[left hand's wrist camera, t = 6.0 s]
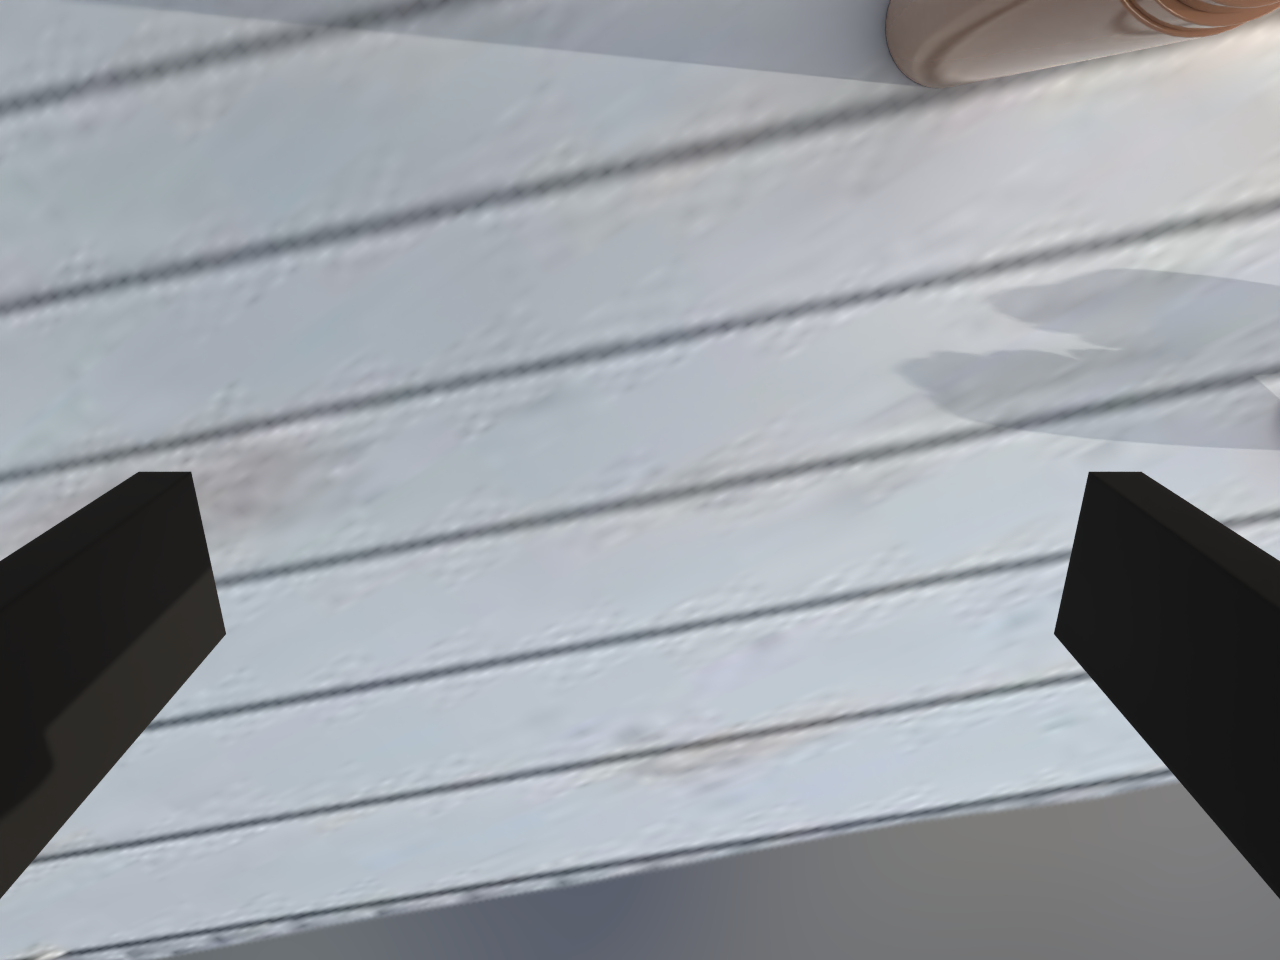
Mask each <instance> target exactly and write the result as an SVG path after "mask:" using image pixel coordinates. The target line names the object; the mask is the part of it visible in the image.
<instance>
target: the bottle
mask: <svg viewBox="0 0 1280 960" xmlns="http://www.w3.org/2000/svg"><path fill="white" fill-rule="evenodd" d="M1279 7H1280V0H891V1H890V4H889V7H888V12H887V18H886V38H887V43H888V47H889V50H890V54H891V56H892V58H893V60H894V62H895V63H896V65H897V66H898V68H899V69H900V70H901V71H902V72H903V74H905V75H906V76H907V77H908V78H909V79H911V80H913V81H914V82H916V83H918V84H920V85H923V86H927V87H931V88H948V87H954V86H959V85H964V84H969V83H974V82H979V81H984V80H989V79H994V78H999V77H1004V76H1009V75H1014V74H1019V73H1024V72H1030V71H1035V70H1040V69H1045V68H1050V67H1055V66H1060V65H1065V64H1070V63H1075V62H1080V61H1085V60H1090V59H1095V58H1100V57H1106V56H1111V55H1116V54H1121V53H1126V52H1131V51H1136V50H1141V49H1146V48H1151V47H1156V46H1161V45H1166V44H1171V43H1176V42H1181V41H1187V40H1192V39H1197V38H1202V37H1207V36H1212V35H1217V34H1220V33H1223V32H1226V31H1229V30H1232V29H1234V28H1236V27H1238V26H1241V25H1243V24H1245V23H1247V22H1249V21H1251V20H1254V19H1257V18H1259V17H1262V16H1264V15H1266V14H1268V13H1270V12H1272V11H1274V10H1276V9H1277V8H1279Z"/></svg>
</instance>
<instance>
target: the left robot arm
mask: <svg viewBox="0 0 1280 960" xmlns="http://www.w3.org/2000/svg"><path fill="white" fill-rule="evenodd" d="M225 635H226V632H225V627H224V622H223V618H222V613H221V608H220V604H219V599H218V594H217V590H216V585H215V580H214V576H213V571H212V567H211V562H210V557H209V553H208V548H207V543H206V539H205V534H204V529H203V525H202V520H201V515H200V511H199V506H198V502H197V497H196V492H195V488H194V483H193V478H192V474H191V472H138V473H136V474H135V475H133V476H132V477H130V478H128V479H127V480H125V481H124V482H122V483H121V484H119V485H118V486H116V487H114V488H113V489H111V490H110V491H108V492H107V493H105V494H104V495H102V496H101V497H99V498H97V499H96V500H94V501H93V502H91V503H90V504H88V505H87V506H85V507H83V508H82V509H80V510H79V511H77V512H76V513H74V514H73V515H71V516H70V517H68V518H66V519H65V520H63V521H62V522H60V523H59V524H57V525H56V526H54V527H52V528H51V529H49V530H48V531H46V532H45V533H43V534H42V535H40V536H39V537H37V538H35V539H34V540H32V541H31V542H29V543H28V544H26V545H25V546H23V547H21V548H20V549H18V550H17V551H15V552H14V553H12V554H11V555H9V556H8V557H6V558H4V559H3V560H1V561H0V899H1V897H2V896H3V895H4V894H5V893H6V891H7V890H8V889H9V888H10V887H11V886H12V884H13V883H14V882H15V881H16V880H17V879H18V877H19V876H20V875H21V874H22V873H23V872H24V870H25V869H26V868H27V867H28V866H29V864H30V863H31V862H32V861H33V860H34V859H35V857H36V856H37V855H38V854H39V853H40V852H41V850H42V849H43V848H44V847H45V846H46V845H47V843H48V842H49V841H50V840H51V839H52V838H53V836H54V835H55V834H56V833H57V832H58V830H59V829H60V828H61V827H62V826H63V825H64V823H65V822H66V821H67V820H68V819H69V818H70V816H71V815H72V814H73V813H74V812H75V811H76V809H77V808H78V807H79V806H80V805H81V803H82V802H83V801H84V800H85V799H86V798H87V796H88V795H89V794H90V793H91V792H92V791H93V789H94V788H95V787H96V786H97V785H98V784H99V782H100V781H101V780H102V779H103V778H104V777H105V775H106V774H107V773H108V772H109V771H110V769H111V768H112V767H113V766H114V765H115V764H116V762H117V761H118V760H119V759H120V758H121V757H122V755H123V754H124V753H125V752H126V751H127V750H128V748H129V747H130V746H131V745H132V744H133V742H134V741H135V740H136V739H137V738H138V737H139V735H140V734H141V733H142V732H143V731H144V730H145V728H146V727H147V726H148V725H149V724H150V723H151V721H152V720H153V719H154V718H155V717H156V716H157V714H158V713H159V712H160V711H161V710H162V708H163V707H164V706H165V705H166V704H167V703H168V701H169V700H170V699H171V698H172V697H173V696H174V694H175V693H176V692H177V691H178V690H179V689H180V687H181V686H182V685H183V684H184V683H185V682H186V680H187V679H188V678H189V677H190V676H191V674H192V673H193V672H194V671H195V670H196V669H197V667H198V666H199V665H200V664H201V663H202V662H203V660H204V659H205V658H206V657H207V656H208V655H209V653H210V652H211V651H212V650H213V649H214V647H215V646H216V645H217V644H218V643H219V642H220V640H221V639H222V638H223V637H224V636H225ZM1054 635H1055V636H1056V637H1057V638H1058V639H1059V640H1060V642H1061V643H1062V644H1063V645H1064V646H1065V647H1066V649H1067V650H1068V651H1069V652H1070V653H1071V655H1072V656H1073V657H1074V658H1075V659H1076V660H1077V662H1078V663H1079V664H1080V665H1081V666H1082V667H1083V669H1084V670H1085V671H1086V672H1087V673H1088V674H1089V676H1090V677H1091V678H1092V679H1093V680H1094V682H1095V683H1096V684H1097V685H1098V686H1099V687H1100V689H1101V690H1102V691H1103V692H1104V693H1105V694H1106V696H1107V697H1108V698H1109V699H1110V700H1111V701H1112V703H1113V704H1114V705H1115V706H1116V707H1117V708H1118V710H1119V711H1120V712H1121V713H1122V714H1123V716H1124V717H1125V718H1126V719H1127V720H1128V721H1129V723H1130V724H1131V725H1132V726H1133V727H1134V728H1135V730H1136V731H1137V732H1138V733H1139V734H1140V735H1141V737H1142V738H1143V739H1144V740H1145V741H1146V743H1147V744H1148V745H1149V746H1150V747H1151V748H1152V750H1153V751H1154V752H1155V753H1156V754H1157V755H1158V757H1159V758H1160V759H1161V760H1162V761H1163V762H1164V764H1165V765H1166V766H1167V767H1168V768H1169V769H1170V771H1171V772H1172V773H1173V774H1174V775H1175V777H1176V778H1177V779H1178V780H1179V781H1180V782H1181V784H1182V785H1183V786H1184V787H1185V788H1186V789H1187V791H1188V792H1189V793H1190V794H1191V795H1192V796H1193V798H1194V799H1195V800H1196V801H1197V802H1198V803H1199V805H1200V806H1201V807H1202V808H1203V809H1204V811H1205V812H1206V813H1207V814H1208V815H1209V816H1210V818H1211V819H1212V820H1213V821H1214V822H1215V823H1216V825H1217V826H1218V827H1219V828H1220V829H1221V830H1222V832H1223V833H1224V834H1225V835H1226V836H1227V837H1228V839H1229V840H1230V841H1231V842H1232V843H1233V845H1234V846H1235V847H1236V848H1237V849H1238V850H1239V852H1240V853H1241V854H1242V855H1243V856H1244V857H1245V859H1246V860H1247V861H1248V862H1249V863H1250V864H1251V866H1252V867H1253V868H1254V869H1255V870H1256V872H1257V873H1258V874H1259V875H1260V876H1261V877H1262V879H1263V880H1264V881H1265V882H1266V883H1267V884H1268V886H1269V887H1270V888H1271V889H1272V890H1273V891H1274V893H1275V894H1276V895H1277V896H1278V897H1279V898H1280V561H1279V560H1277V559H1276V558H1274V557H1272V556H1271V555H1269V554H1268V553H1266V552H1265V551H1263V550H1262V549H1260V548H1259V547H1257V546H1255V545H1254V544H1252V543H1251V542H1249V541H1248V540H1246V539H1245V538H1243V537H1241V536H1240V535H1238V534H1237V533H1235V532H1234V531H1232V530H1231V529H1229V528H1228V527H1226V526H1224V525H1223V524H1221V523H1220V522H1218V521H1217V520H1215V519H1214V518H1212V517H1210V516H1209V515H1207V514H1206V513H1204V512H1203V511H1201V510H1200V509H1198V508H1197V507H1195V506H1193V505H1192V504H1190V503H1189V502H1187V501H1186V500H1184V499H1183V498H1181V497H1179V496H1178V495H1176V494H1175V493H1173V492H1172V491H1170V490H1169V489H1167V488H1166V487H1164V486H1162V485H1161V484H1159V483H1158V482H1156V481H1155V480H1153V479H1152V478H1150V477H1148V476H1147V475H1145V474H1144V473H1142V472H1089V474H1088V478H1087V483H1086V488H1085V492H1084V497H1083V501H1082V506H1081V511H1080V515H1079V520H1078V525H1077V529H1076V534H1075V539H1074V543H1073V548H1072V553H1071V557H1070V562H1069V567H1068V571H1067V576H1066V580H1065V585H1064V590H1063V594H1062V599H1061V604H1060V608H1059V613H1058V618H1057V622H1056V627H1055V632H1054Z"/></svg>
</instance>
